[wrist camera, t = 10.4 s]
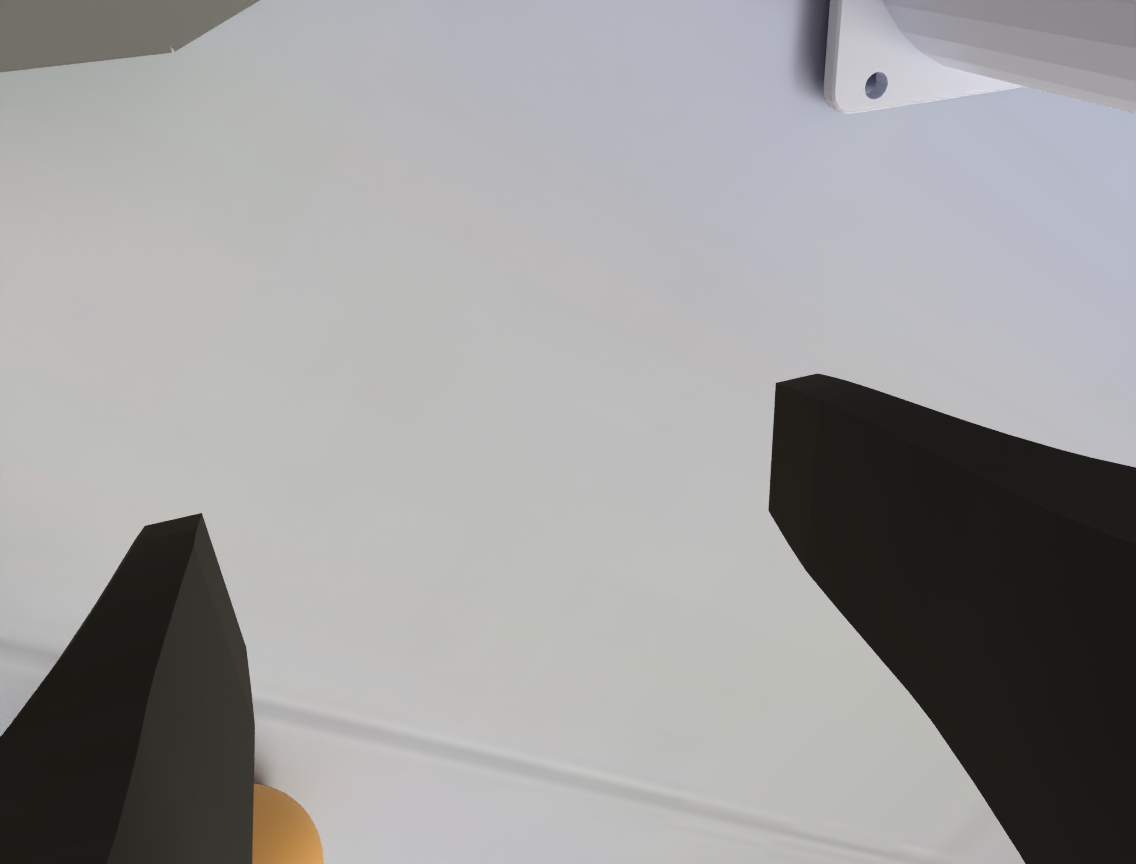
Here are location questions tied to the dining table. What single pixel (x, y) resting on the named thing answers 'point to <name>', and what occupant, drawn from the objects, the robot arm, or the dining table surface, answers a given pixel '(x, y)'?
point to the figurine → (282, 830)
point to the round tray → (102, 28)
